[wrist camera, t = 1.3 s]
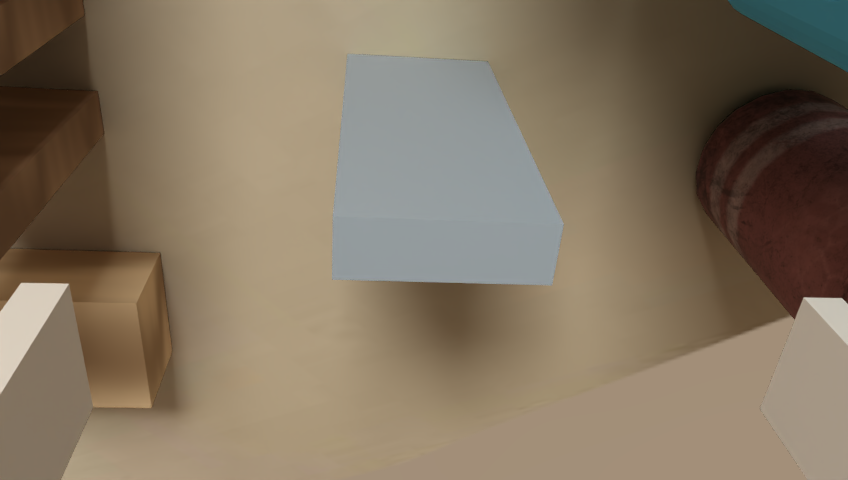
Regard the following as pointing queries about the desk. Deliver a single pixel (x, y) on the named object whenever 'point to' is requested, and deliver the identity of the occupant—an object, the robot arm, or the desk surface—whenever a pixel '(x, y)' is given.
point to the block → (805, 24)
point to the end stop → (106, 316)
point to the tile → (437, 179)
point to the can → (783, 192)
